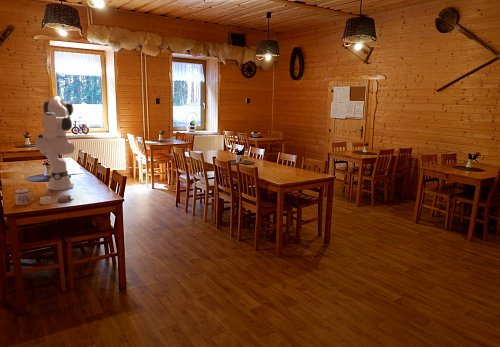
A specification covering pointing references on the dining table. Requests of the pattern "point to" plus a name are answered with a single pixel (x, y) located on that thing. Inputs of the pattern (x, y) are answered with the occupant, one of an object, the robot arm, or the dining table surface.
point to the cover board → (64, 198)
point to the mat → (67, 202)
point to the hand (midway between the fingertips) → (52, 154)
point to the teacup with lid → (22, 196)
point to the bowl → (45, 200)
